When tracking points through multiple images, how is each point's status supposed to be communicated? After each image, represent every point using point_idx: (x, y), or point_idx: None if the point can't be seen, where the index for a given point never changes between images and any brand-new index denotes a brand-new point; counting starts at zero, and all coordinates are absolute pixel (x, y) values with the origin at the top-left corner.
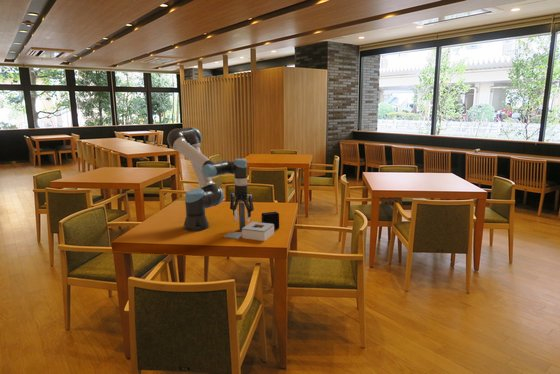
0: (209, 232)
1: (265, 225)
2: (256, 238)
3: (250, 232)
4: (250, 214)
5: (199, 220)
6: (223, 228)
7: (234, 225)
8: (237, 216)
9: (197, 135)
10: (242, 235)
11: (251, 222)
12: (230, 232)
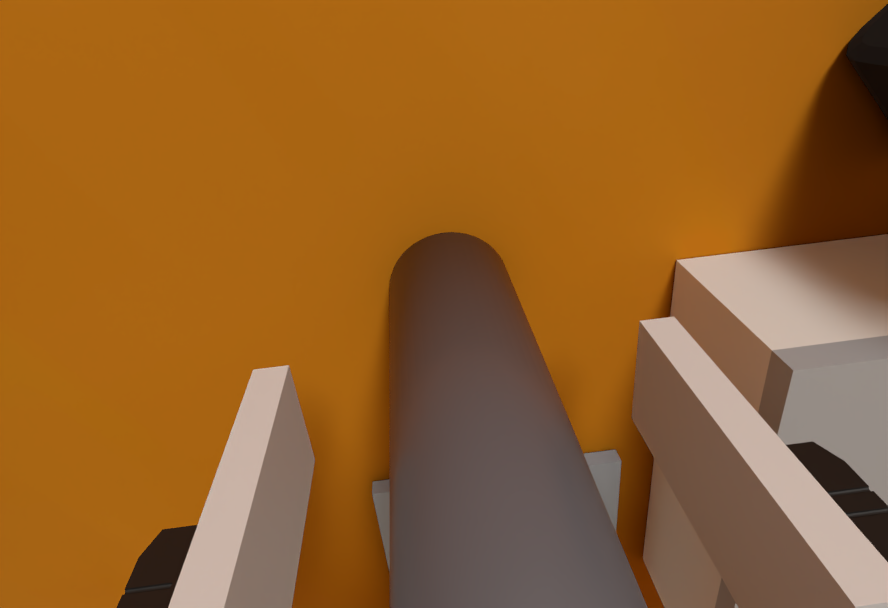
0: (72, 599)
1: None
2: None
3: None
4: (880, 533)
5: None
6: (81, 395)
7: (101, 137)
8: (270, 449)
9: None
10: (662, 593)
11: (786, 439)
12: (385, 524)
